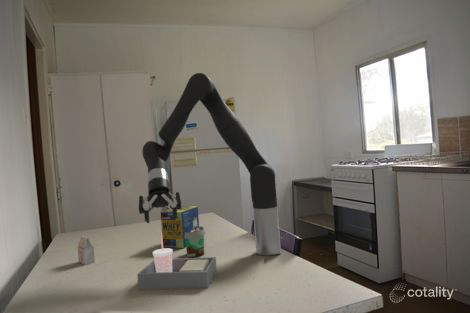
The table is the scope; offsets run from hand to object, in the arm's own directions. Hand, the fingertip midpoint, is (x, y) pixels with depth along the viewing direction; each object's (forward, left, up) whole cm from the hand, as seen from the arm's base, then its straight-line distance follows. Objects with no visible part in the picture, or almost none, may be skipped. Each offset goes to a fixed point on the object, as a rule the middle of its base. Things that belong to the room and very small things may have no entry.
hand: (161, 220), depth 115 cm
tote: (-7, +8, -18) cm, 21 cm away
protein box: (+6, -39, -18) cm, 43 cm away
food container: (-6, -21, -18) cm, 28 cm away
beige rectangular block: (-12, +8, -17) cm, 23 cm away
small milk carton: (+38, -16, -18) cm, 45 cm away
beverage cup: (-3, +8, -17) cm, 19 cm away
